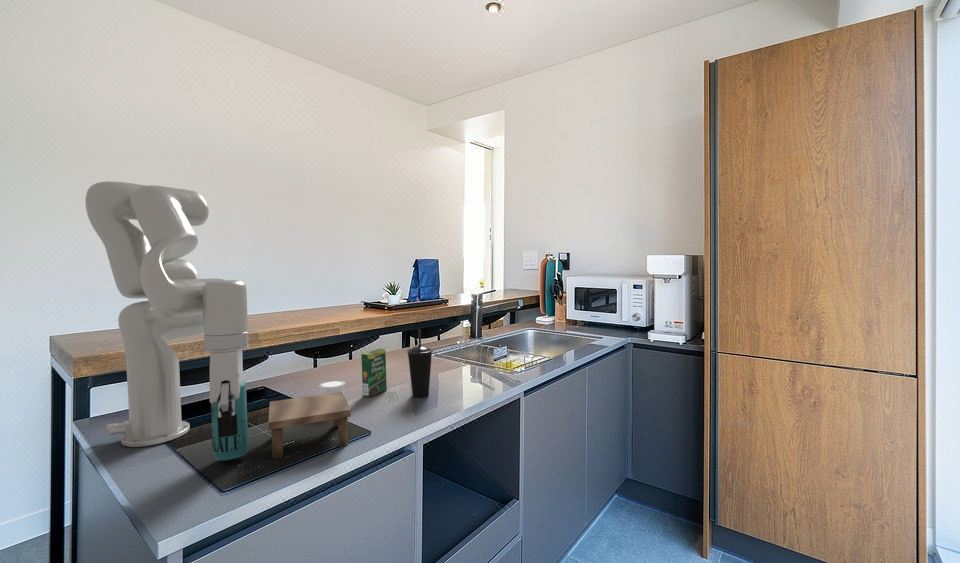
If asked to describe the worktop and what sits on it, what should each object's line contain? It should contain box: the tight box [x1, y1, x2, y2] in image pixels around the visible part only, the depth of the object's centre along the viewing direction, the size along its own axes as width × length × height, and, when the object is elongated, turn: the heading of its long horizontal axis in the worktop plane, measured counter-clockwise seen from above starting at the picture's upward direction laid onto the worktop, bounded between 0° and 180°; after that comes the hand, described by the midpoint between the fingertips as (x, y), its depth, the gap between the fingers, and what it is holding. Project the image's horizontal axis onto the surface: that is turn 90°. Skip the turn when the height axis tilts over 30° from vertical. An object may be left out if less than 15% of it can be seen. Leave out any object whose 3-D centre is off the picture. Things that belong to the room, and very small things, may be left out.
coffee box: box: [361, 348, 388, 398], centre depth 126 cm, size 8×3×13 cm, turn 150°
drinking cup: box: [406, 328, 434, 399], centre depth 124 cm, size 8×8×20 cm
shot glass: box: [318, 380, 346, 398], centre depth 113 cm, size 7×7×7 cm
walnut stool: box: [267, 392, 352, 460], centre depth 93 cm, size 16×14×8 cm
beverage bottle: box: [210, 379, 250, 461], centre depth 84 cm, size 6×7×20 cm
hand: (230, 427), depth 84 cm, fingers open, 7 cm apart
